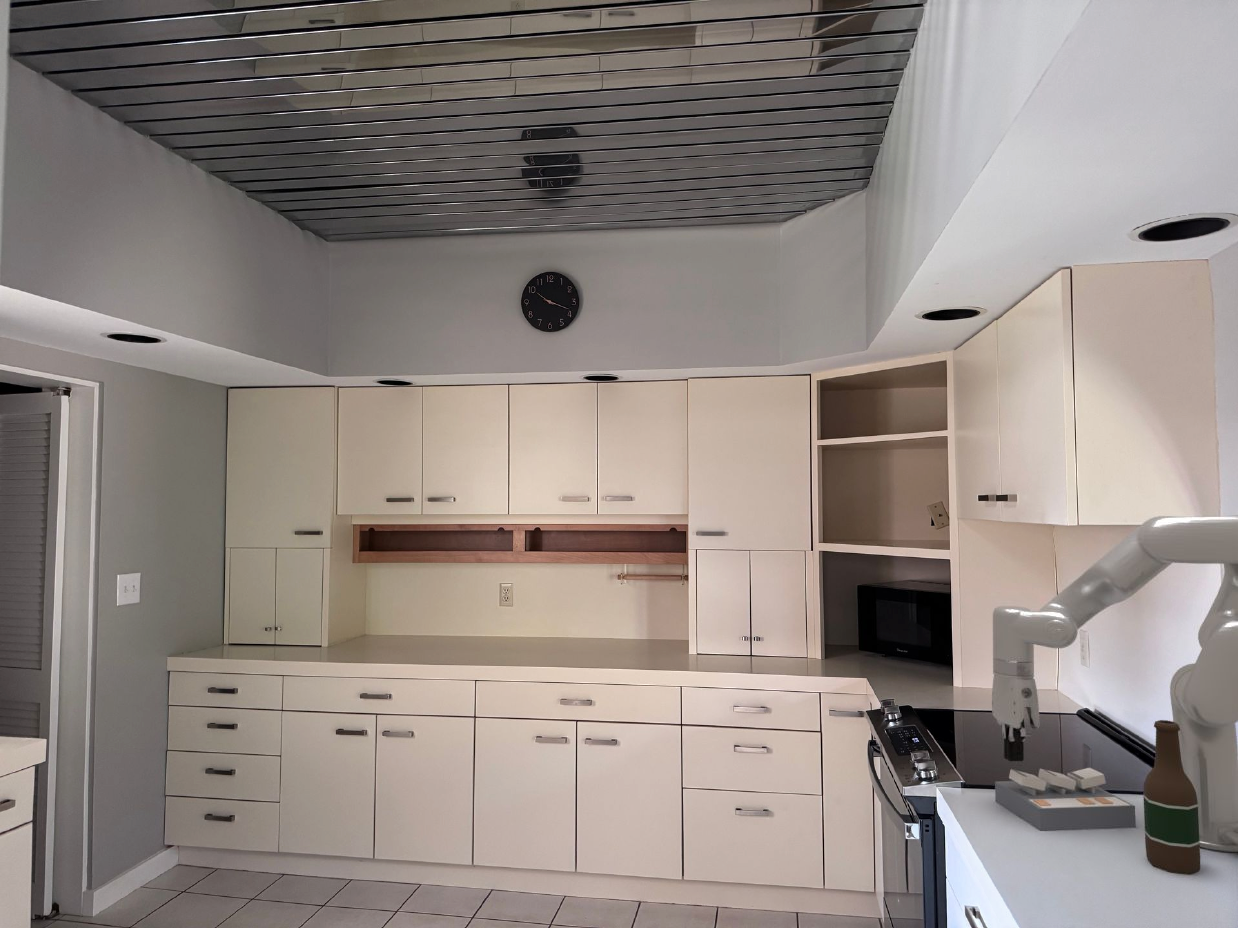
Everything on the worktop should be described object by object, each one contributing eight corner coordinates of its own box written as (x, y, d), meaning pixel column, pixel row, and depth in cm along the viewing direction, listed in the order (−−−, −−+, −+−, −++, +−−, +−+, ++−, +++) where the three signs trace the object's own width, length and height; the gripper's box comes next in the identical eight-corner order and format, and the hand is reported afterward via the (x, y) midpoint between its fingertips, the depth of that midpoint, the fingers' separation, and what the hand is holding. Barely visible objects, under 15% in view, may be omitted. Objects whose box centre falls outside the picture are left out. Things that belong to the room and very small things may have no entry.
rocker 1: (1044, 790, 163) (1046, 781, 163) (1020, 784, 163) (1023, 775, 163) (1031, 783, 167) (1033, 774, 167) (1008, 777, 167) (1010, 768, 167)
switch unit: (1135, 827, 156) (1134, 800, 157) (1040, 830, 155) (1039, 803, 155) (1082, 798, 172) (1081, 774, 173) (995, 801, 171) (994, 776, 171)
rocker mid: (1074, 789, 163) (1076, 780, 164) (1050, 783, 163) (1052, 774, 163) (1060, 782, 168) (1062, 773, 168) (1038, 776, 167) (1040, 767, 168)
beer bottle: (1149, 851, 145) (1143, 714, 146) (1202, 863, 140) (1196, 720, 142) (1142, 866, 139) (1136, 722, 140) (1198, 879, 134) (1191, 729, 136)
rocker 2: (1105, 783, 164) (1103, 773, 164) (1082, 788, 164) (1080, 779, 164) (1091, 776, 168) (1089, 767, 168) (1069, 781, 168) (1066, 772, 168)
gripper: (1053, 675, 159) (1053, 771, 158) (1010, 661, 174) (1011, 748, 173) (1015, 675, 159) (1016, 771, 158) (976, 660, 174) (977, 748, 173)
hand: (1013, 759), depth 165 cm, fingers closed
